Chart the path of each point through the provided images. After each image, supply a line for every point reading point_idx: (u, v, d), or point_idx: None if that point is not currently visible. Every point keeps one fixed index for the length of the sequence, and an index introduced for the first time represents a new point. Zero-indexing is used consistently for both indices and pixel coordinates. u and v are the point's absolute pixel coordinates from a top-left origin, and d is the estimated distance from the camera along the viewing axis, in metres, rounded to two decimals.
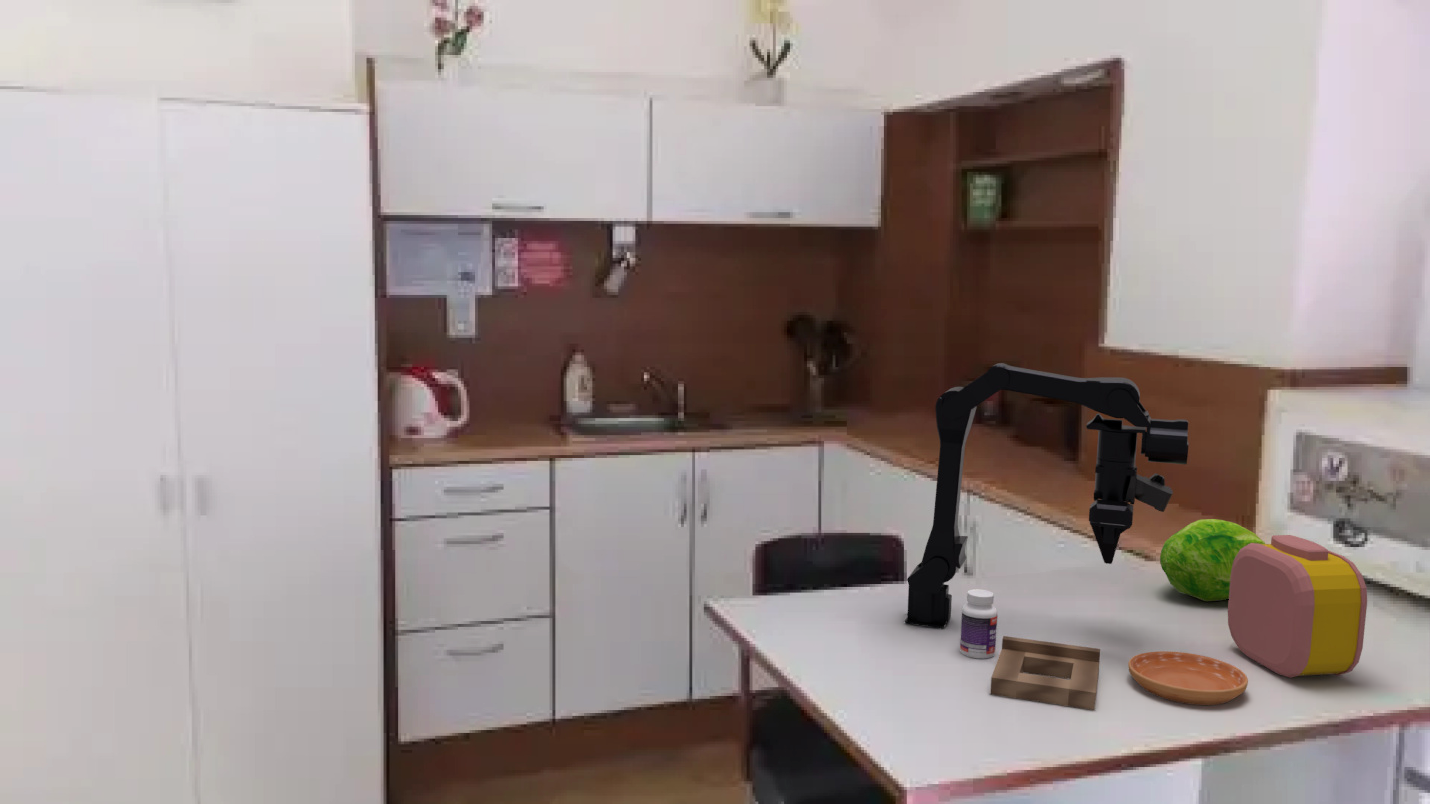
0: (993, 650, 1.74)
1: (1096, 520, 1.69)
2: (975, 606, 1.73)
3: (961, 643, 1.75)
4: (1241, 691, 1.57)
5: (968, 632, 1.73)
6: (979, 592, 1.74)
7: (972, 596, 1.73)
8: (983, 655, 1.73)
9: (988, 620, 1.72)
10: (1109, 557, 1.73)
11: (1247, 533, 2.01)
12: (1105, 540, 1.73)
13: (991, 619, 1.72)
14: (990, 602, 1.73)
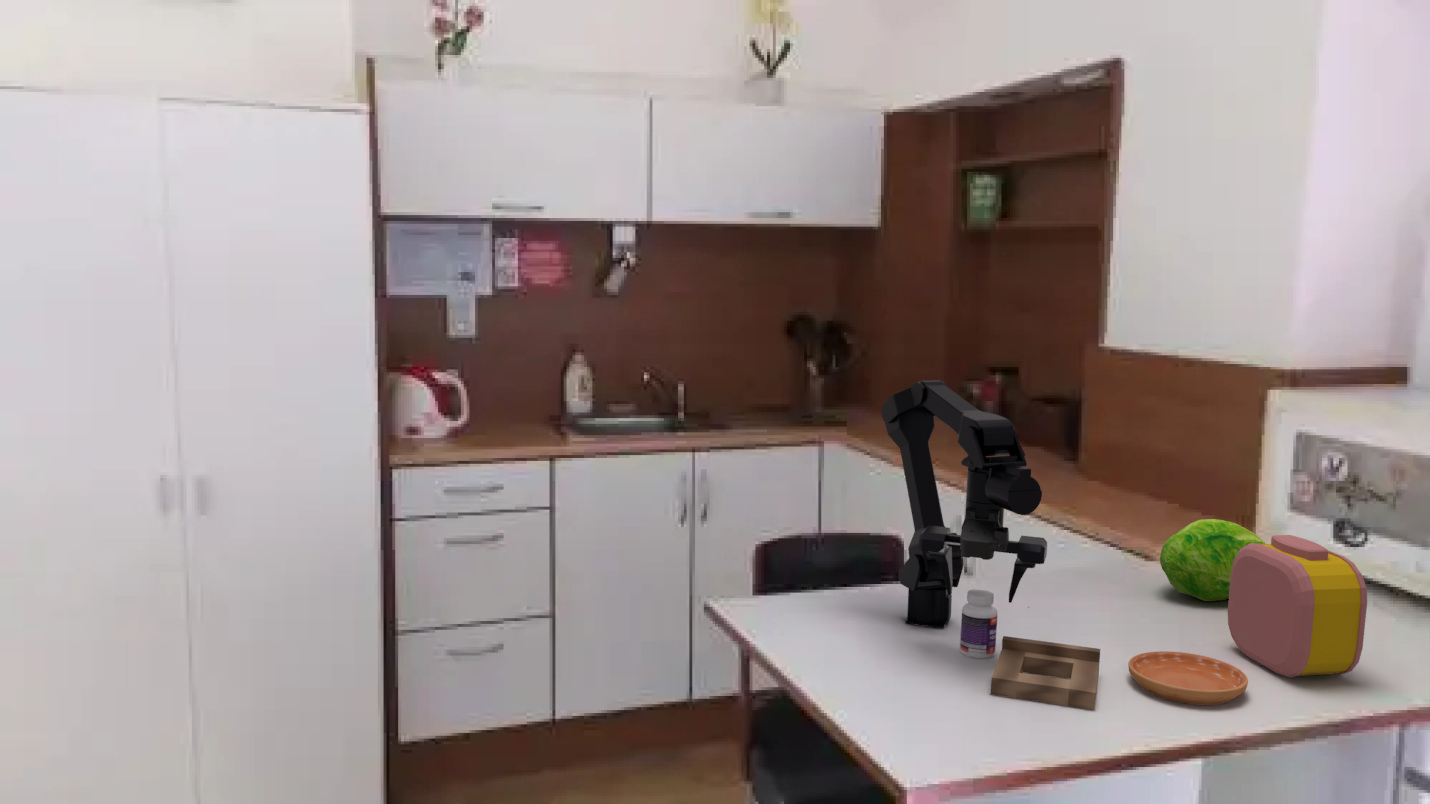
0: (993, 650, 1.74)
1: None
2: (976, 606, 1.73)
3: (961, 643, 1.75)
4: (1241, 691, 1.57)
5: (968, 632, 1.73)
6: (979, 592, 1.74)
7: (972, 596, 1.73)
8: (983, 655, 1.73)
9: (988, 620, 1.72)
10: None
11: (1247, 533, 2.01)
12: None
13: (991, 619, 1.72)
14: (990, 602, 1.73)
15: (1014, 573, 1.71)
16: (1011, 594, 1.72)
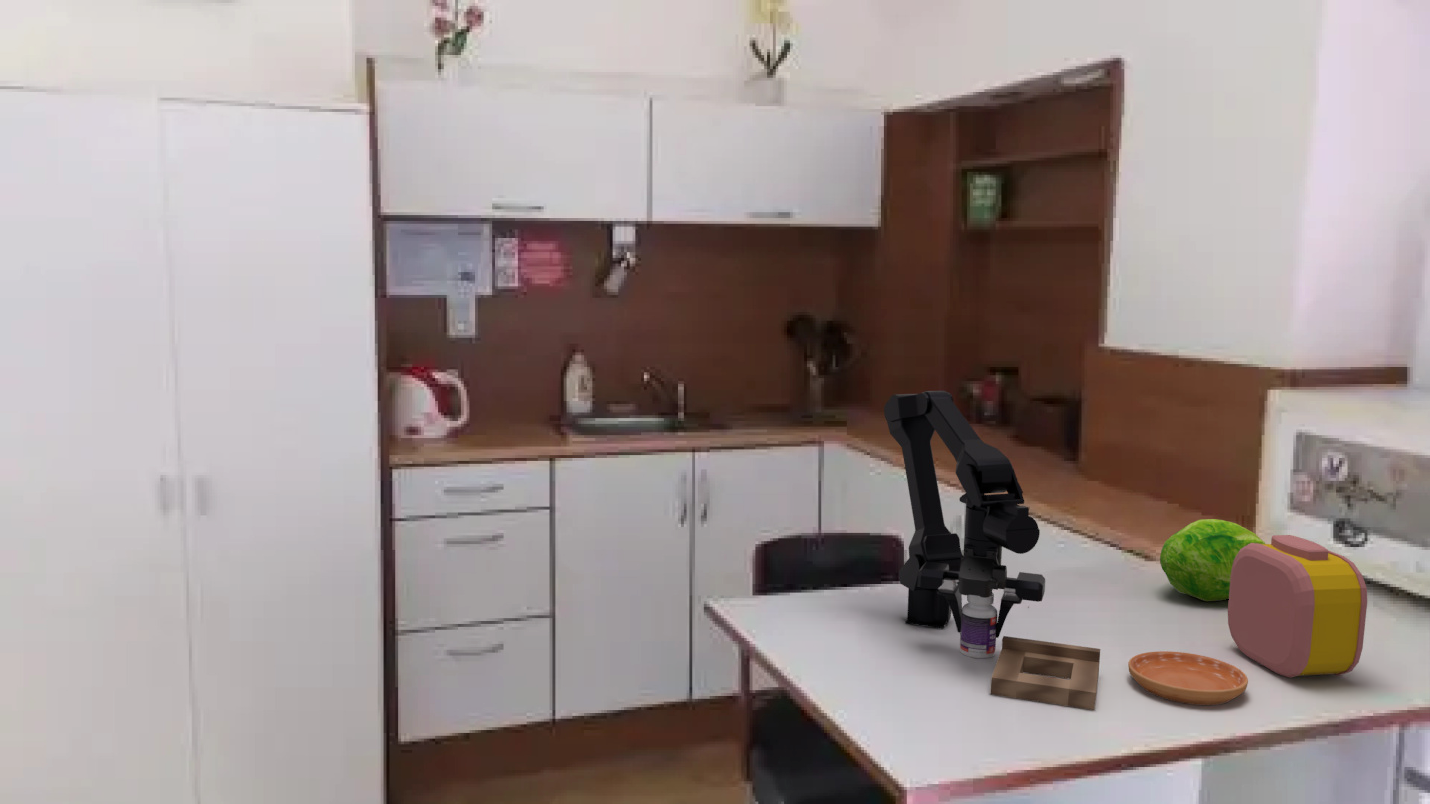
0: (993, 650, 1.74)
1: None
2: (976, 606, 1.73)
3: (961, 643, 1.75)
4: (1241, 691, 1.57)
5: (968, 631, 1.73)
6: None
7: (972, 596, 1.73)
8: (983, 655, 1.73)
9: (988, 620, 1.72)
10: None
11: (1247, 533, 2.01)
12: None
13: (991, 619, 1.72)
14: (990, 602, 1.73)
15: (1001, 608, 1.72)
16: (998, 629, 1.73)
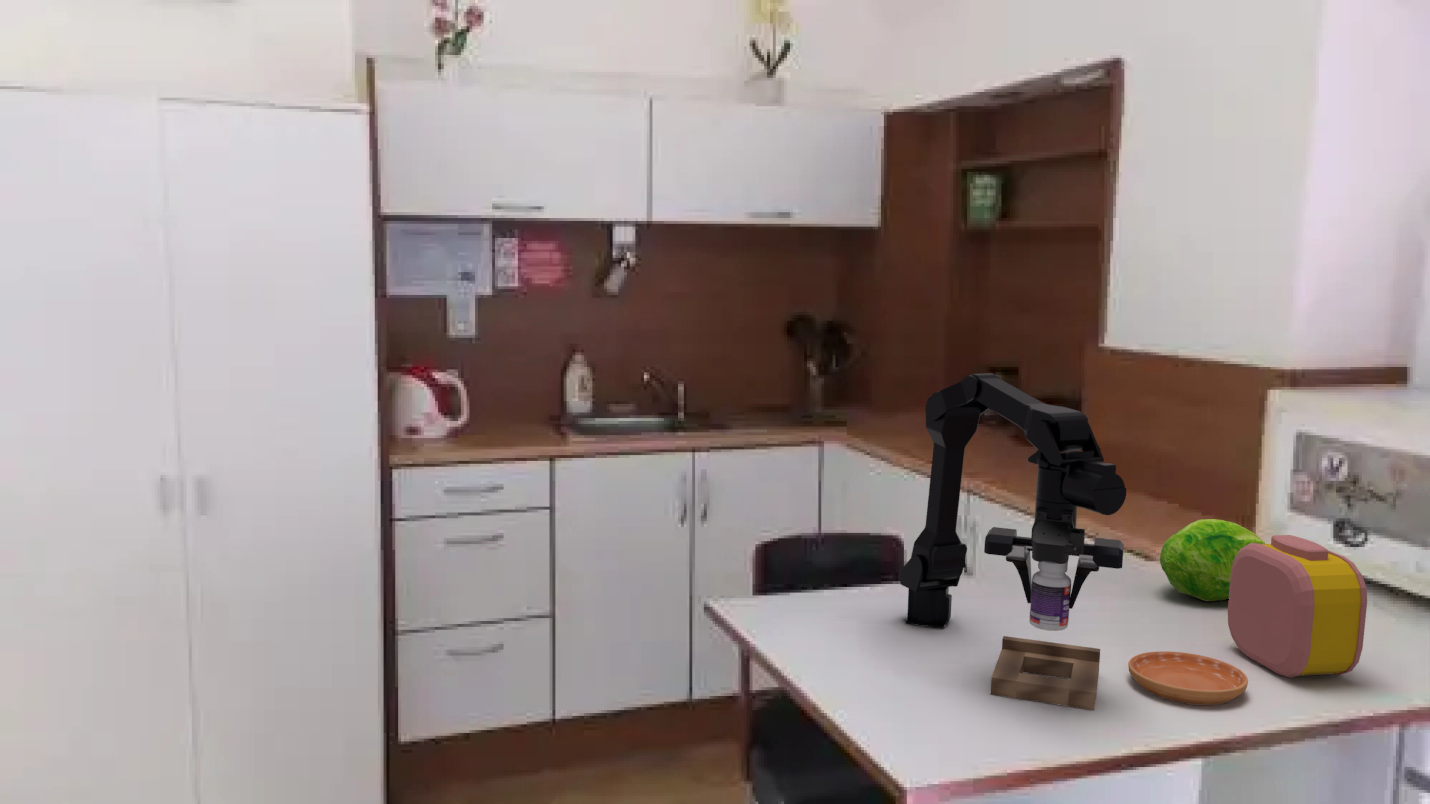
0: (1066, 622, 1.60)
1: None
2: (1048, 574, 1.60)
3: (1031, 614, 1.62)
4: (1241, 691, 1.57)
5: (1039, 602, 1.60)
6: None
7: (1045, 563, 1.60)
8: (1055, 627, 1.60)
9: (1062, 589, 1.59)
10: None
11: (1247, 533, 2.01)
12: None
13: (1065, 588, 1.59)
14: (1064, 570, 1.60)
15: (1076, 577, 1.59)
16: (1072, 599, 1.60)
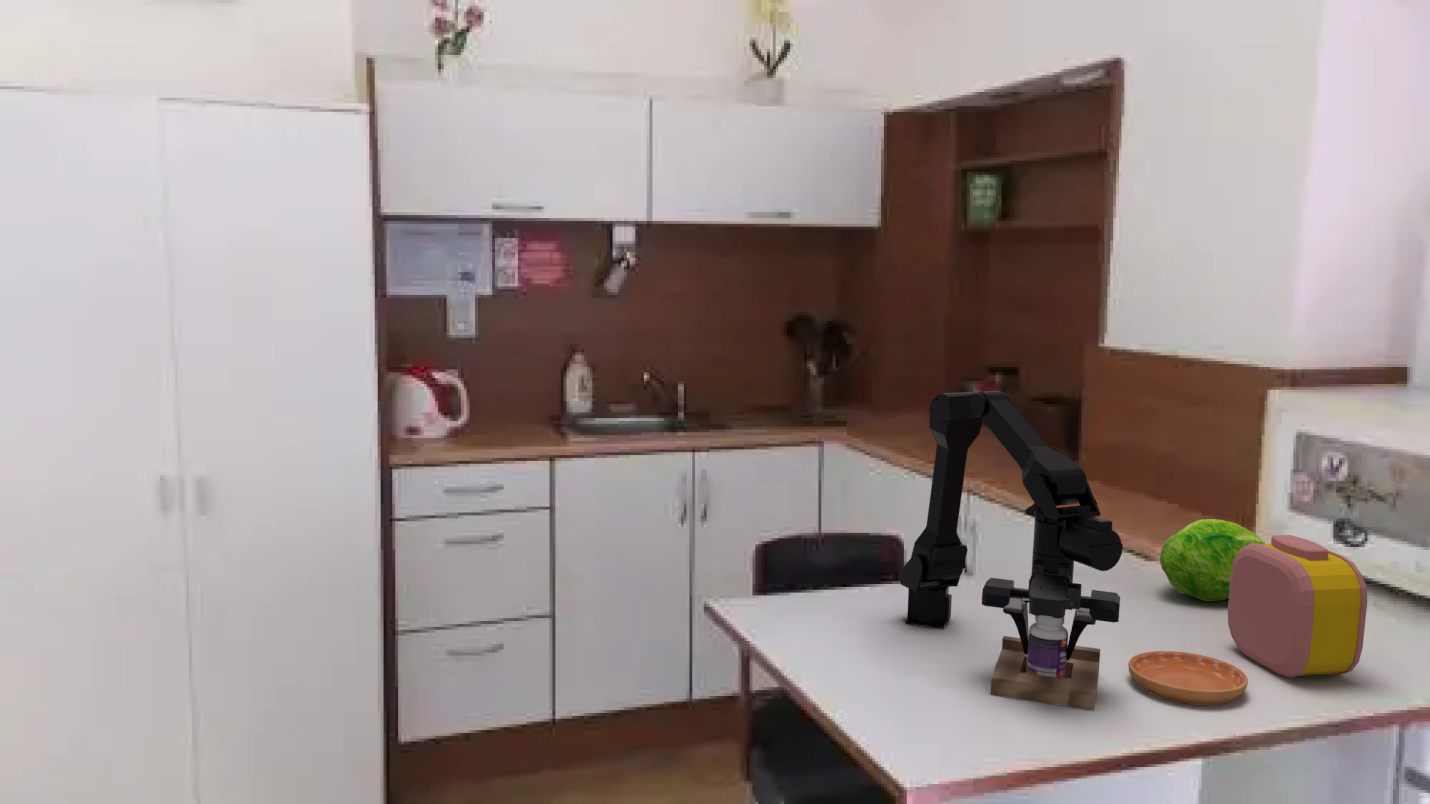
0: (1063, 674, 1.61)
1: None
2: (1045, 626, 1.61)
3: (1028, 666, 1.63)
4: (1241, 691, 1.57)
5: (1036, 654, 1.61)
6: None
7: (1041, 616, 1.61)
8: None
9: (1058, 641, 1.60)
10: (1023, 646, 1.64)
11: (1247, 533, 2.01)
12: None
13: (1062, 641, 1.60)
14: (1061, 622, 1.61)
15: (1073, 629, 1.60)
16: (1069, 651, 1.61)
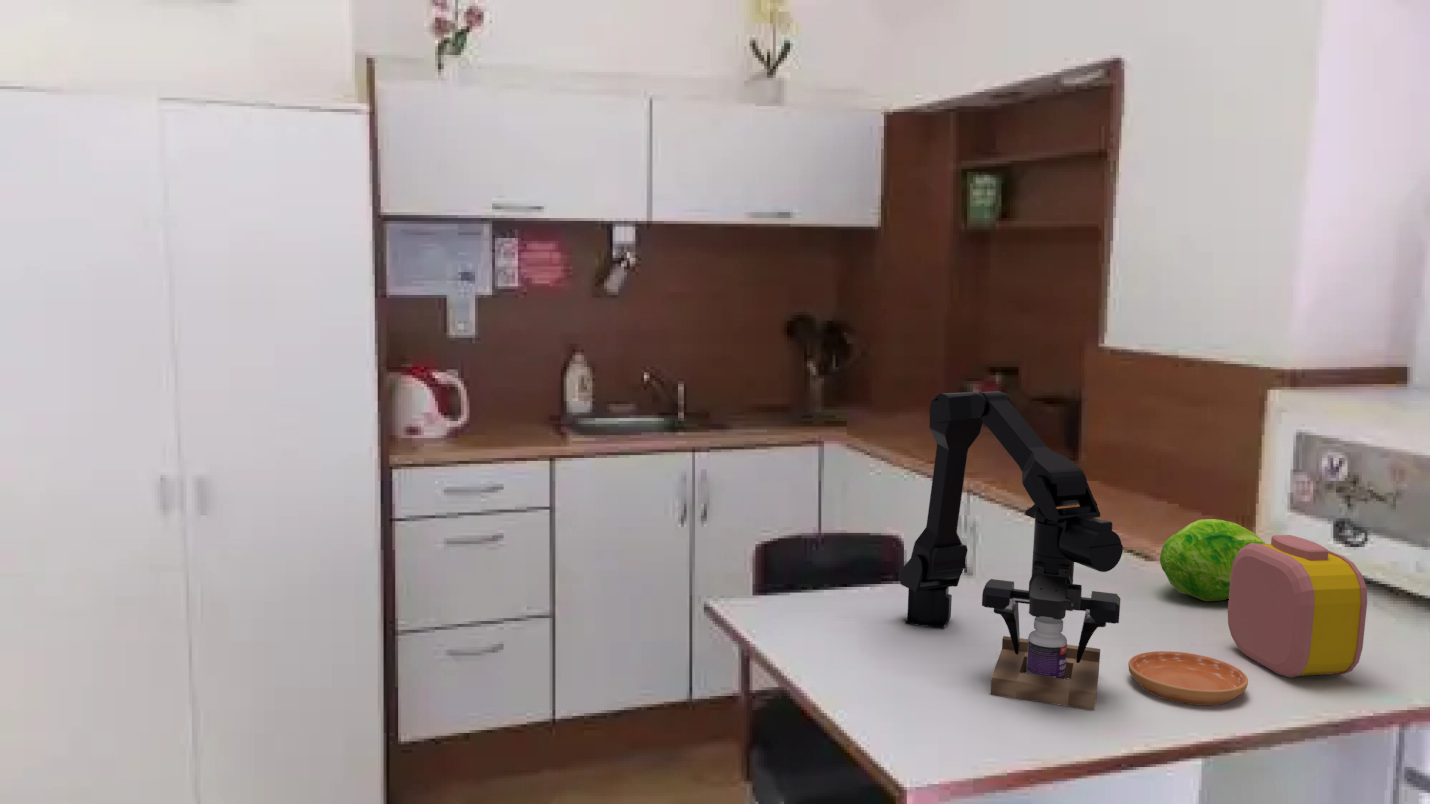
0: None
1: None
2: (1044, 634, 1.61)
3: (1028, 673, 1.63)
4: (1241, 691, 1.57)
5: (1036, 662, 1.61)
6: (1047, 619, 1.62)
7: (1040, 623, 1.61)
8: None
9: (1057, 649, 1.60)
10: None
11: (1247, 533, 2.01)
12: None
13: (1061, 648, 1.60)
14: (1060, 630, 1.61)
15: (1083, 632, 1.59)
16: (1079, 654, 1.60)
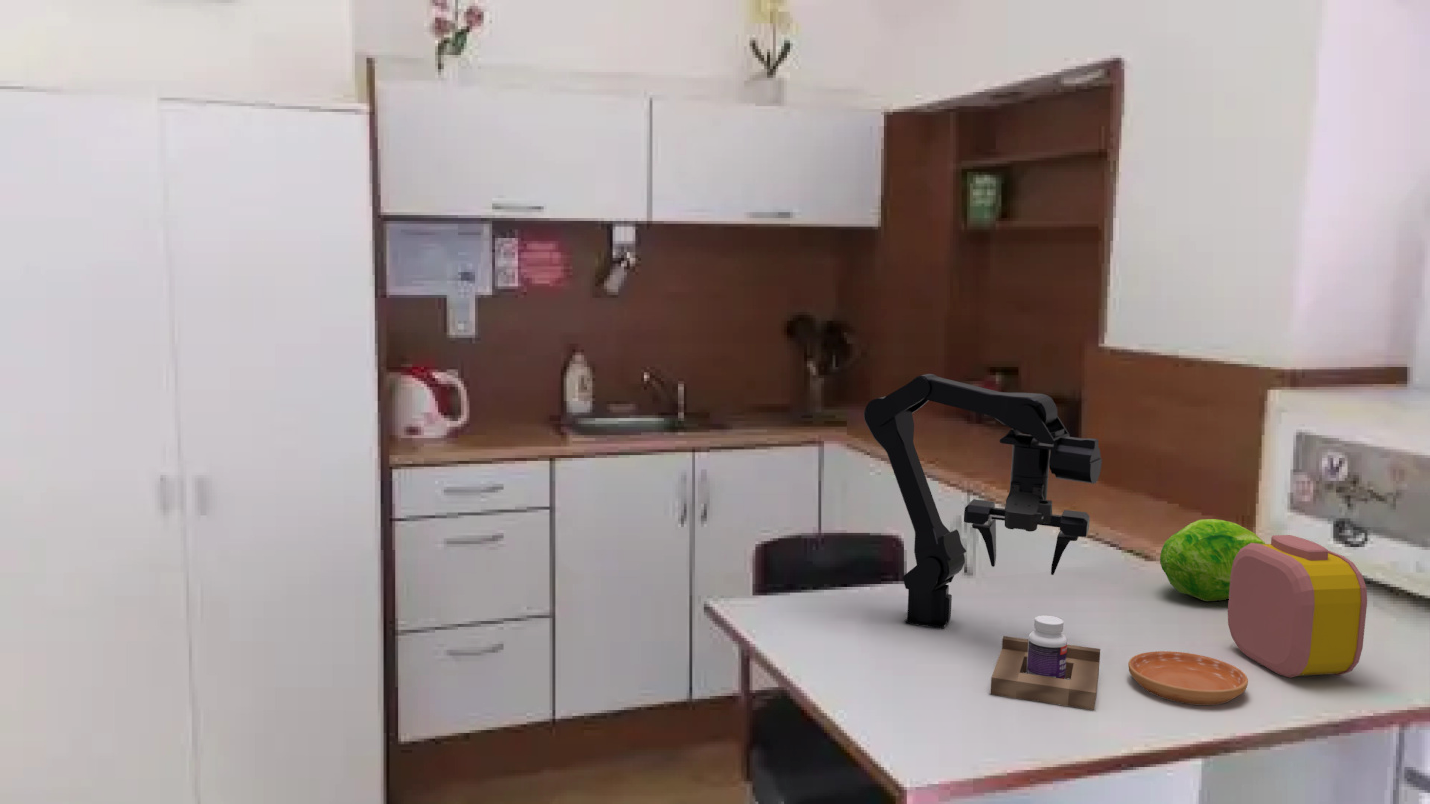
0: None
1: None
2: (1044, 634, 1.61)
3: (1028, 673, 1.63)
4: (1241, 691, 1.57)
5: (1036, 662, 1.61)
6: (1048, 619, 1.62)
7: (1040, 623, 1.61)
8: None
9: (1058, 649, 1.60)
10: None
11: (1247, 533, 2.01)
12: None
13: (1061, 648, 1.60)
14: (1060, 630, 1.61)
15: (1057, 546, 1.76)
16: (1053, 566, 1.77)
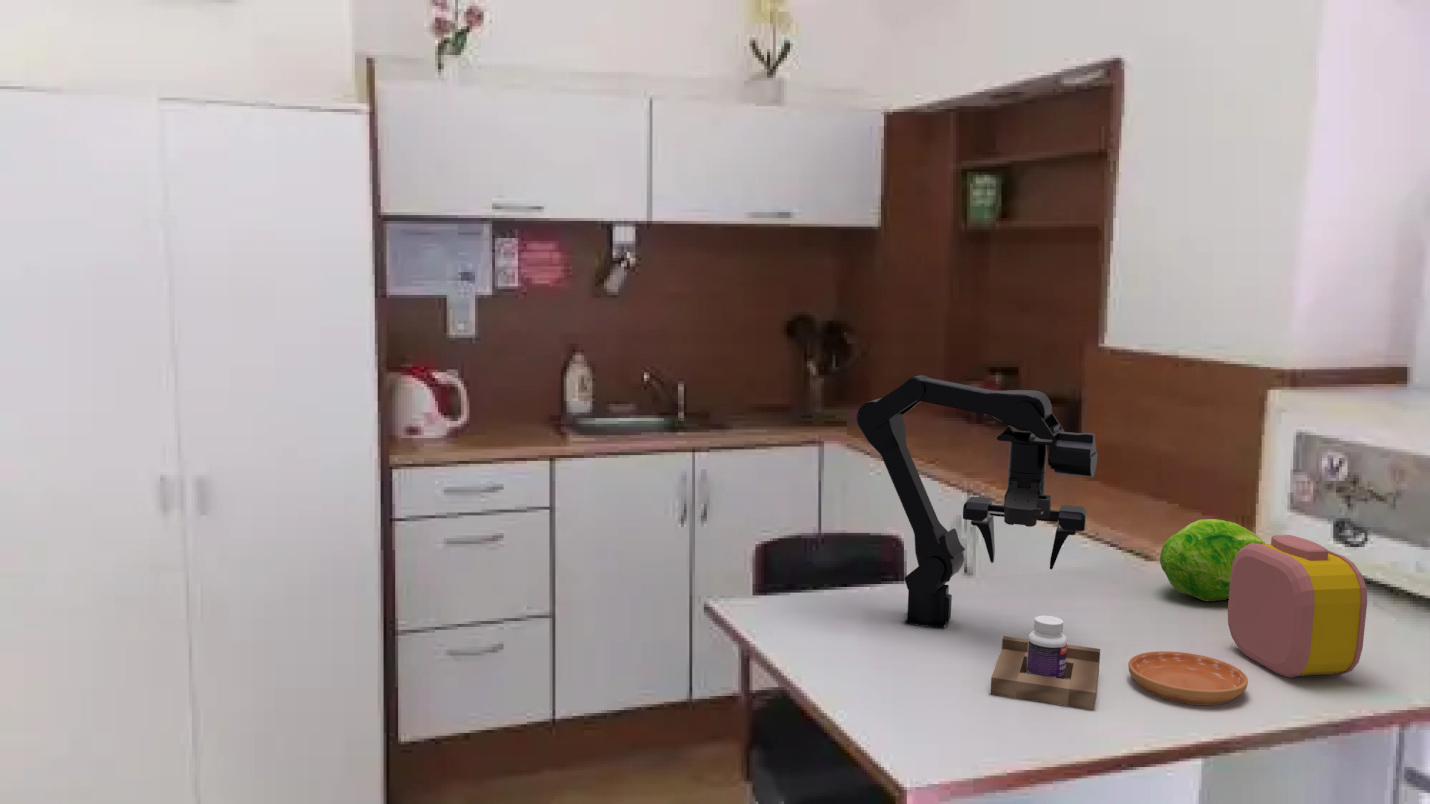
0: None
1: None
2: (1044, 634, 1.61)
3: None
4: (1241, 691, 1.57)
5: (1036, 662, 1.61)
6: (1048, 619, 1.62)
7: (1040, 623, 1.61)
8: None
9: (1057, 649, 1.60)
10: None
11: (1247, 533, 2.01)
12: None
13: (1061, 648, 1.60)
14: (1060, 630, 1.61)
15: (1055, 540, 1.78)
16: (1052, 561, 1.79)
